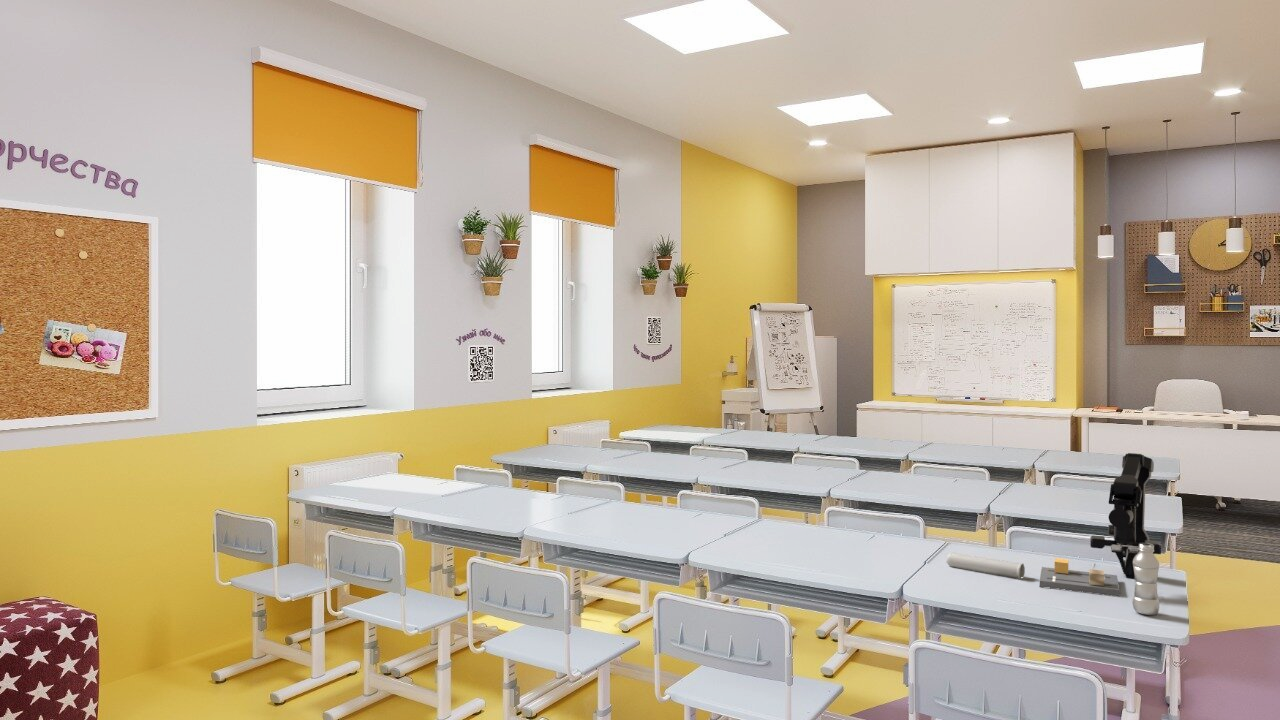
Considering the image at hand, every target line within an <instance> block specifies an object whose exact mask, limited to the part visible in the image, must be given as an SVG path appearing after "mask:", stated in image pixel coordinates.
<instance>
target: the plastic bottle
mask: <svg viewBox="0 0 1280 720" xmlns="http://www.w3.org/2000/svg"><path fill="white" fill-rule="evenodd" d="M1138 550H1139V553H1138V554H1137V555H1136V556H1135V557H1134V559H1133V567H1134V574H1135V578H1134V580H1135V581H1134V593H1133V594H1134V595H1133V599H1132V607H1133V609H1134V612H1136V613H1139V614H1141V615H1147V616H1155V615H1157V614H1158V613H1159V611H1160V608H1161V607H1160V601H1159V596H1158V576H1159V570H1160V569H1159V568H1160V562H1159V560H1158V558H1157V557H1156V556H1155V555H1156V554H1153V552H1154V545H1153V544H1149V543H1139V548H1138Z"/></svg>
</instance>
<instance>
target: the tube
mask: <svg viewBox="0 0 1280 720" xmlns="http://www.w3.org/2000/svg"><path fill="white" fill-rule="evenodd" d="M946 564H947V565H948V566H949V567H952V568H955V567H956V569H961V568H962V569H963V570H966V569H968V571H972V570H974V571H973V572H977V571H979V573H983V572H985V573H984V574H989V573H990V574H989V575H994V574H996V575H995V576H1000V575H1001V577H1005V576H1007V577H1006V578H1011V577H1012V578H1011V579H1016V578H1019V579H1018V580H1022V579H1021V577H1023V578H1024V577H1025V574H1026V573H1025V569H1026V567H1025V565H1024V564H1025V563H1023V562H1021V563H1020V562H1013V561H1007V560H1000V559H994V558H988V557H982V556H976V555H969V554H963V553H958V552H952V553H949V554H947V556H946ZM962 569H961V570H962Z"/></svg>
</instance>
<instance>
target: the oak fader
mask: <svg viewBox="0 0 1280 720" xmlns="http://www.w3.org/2000/svg"><path fill="white" fill-rule="evenodd" d="M1088 572H1089V582H1090V584H1091V585H1100V586H1104V574H1105V570H1098V569H1093V568H1092V569H1091V568H1090V569H1089V571H1088Z"/></svg>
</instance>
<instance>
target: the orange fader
mask: <svg viewBox="0 0 1280 720" xmlns="http://www.w3.org/2000/svg"><path fill="white" fill-rule="evenodd" d="M1054 568H1055V572H1056V573H1065V574H1068V570H1069V559H1068V558H1066V559H1065V558H1058V557H1056V558H1055V557H1054Z"/></svg>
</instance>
